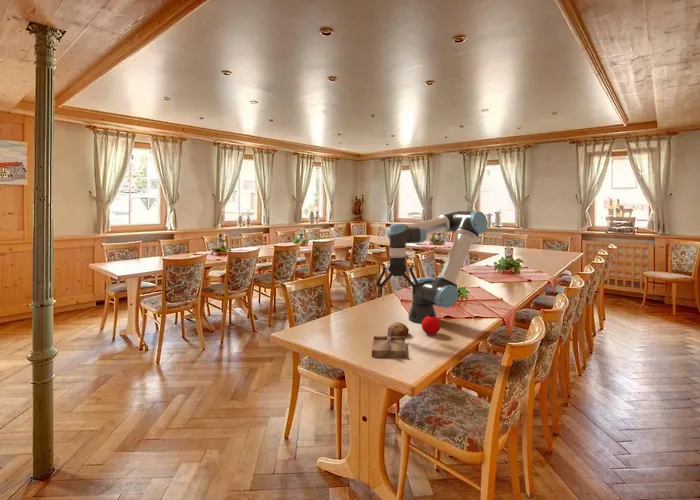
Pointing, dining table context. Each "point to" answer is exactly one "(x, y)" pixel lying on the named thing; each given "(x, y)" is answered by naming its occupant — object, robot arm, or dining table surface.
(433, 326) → the ornament
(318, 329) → the dining table surface
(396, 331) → the bread roll
